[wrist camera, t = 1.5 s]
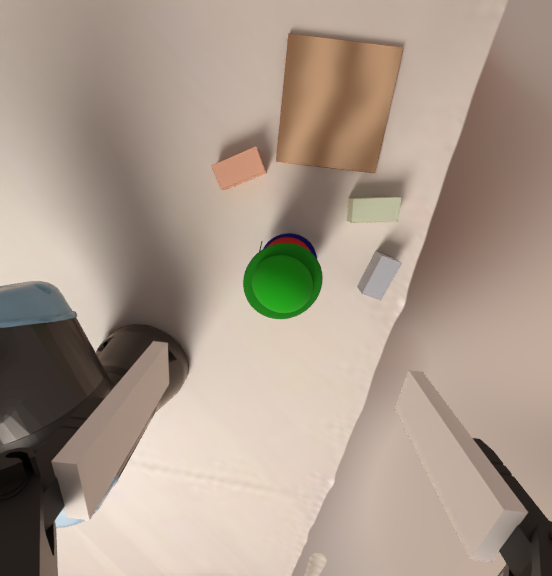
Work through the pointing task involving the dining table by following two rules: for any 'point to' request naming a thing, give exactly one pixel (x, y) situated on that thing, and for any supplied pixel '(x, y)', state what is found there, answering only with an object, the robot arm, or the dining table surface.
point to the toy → (283, 277)
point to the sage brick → (373, 209)
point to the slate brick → (378, 275)
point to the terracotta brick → (239, 168)
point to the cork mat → (336, 102)
